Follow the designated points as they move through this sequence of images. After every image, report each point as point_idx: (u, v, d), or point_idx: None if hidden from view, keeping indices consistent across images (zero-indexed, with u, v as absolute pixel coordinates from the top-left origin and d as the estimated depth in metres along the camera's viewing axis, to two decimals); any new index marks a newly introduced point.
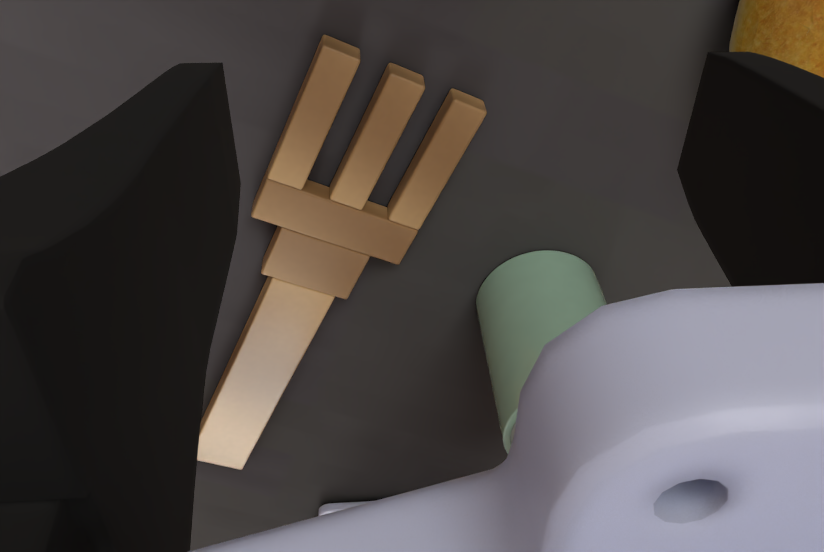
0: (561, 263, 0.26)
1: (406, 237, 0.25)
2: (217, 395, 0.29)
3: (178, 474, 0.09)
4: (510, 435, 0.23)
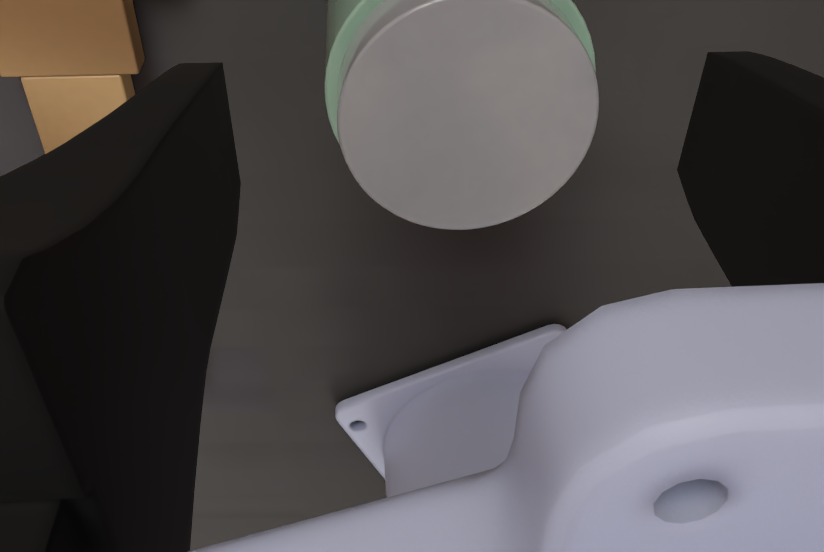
0: None
1: None
2: None
3: (178, 474, 0.09)
4: None
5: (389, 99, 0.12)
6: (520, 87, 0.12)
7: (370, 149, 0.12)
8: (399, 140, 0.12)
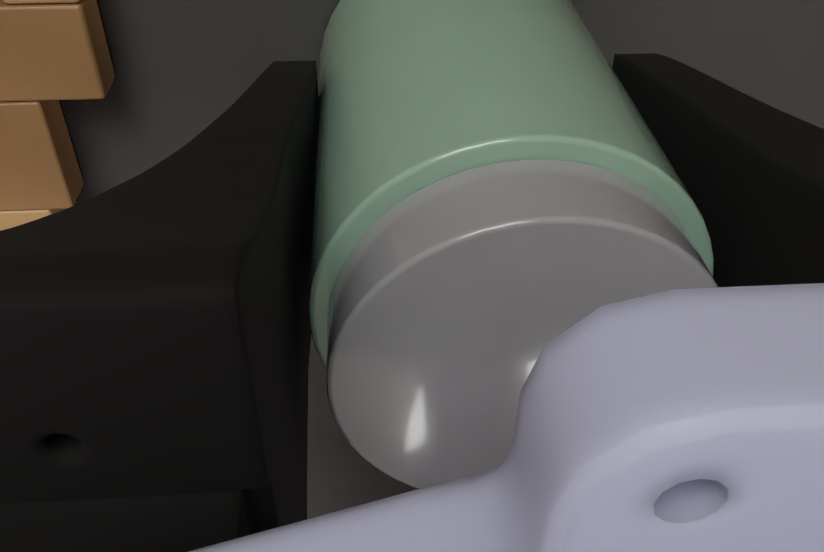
0: None
1: (68, 29, 0.12)
2: None
3: (300, 468, 0.09)
4: None
5: (408, 357, 0.07)
6: None
7: (377, 416, 0.08)
8: (422, 404, 0.08)
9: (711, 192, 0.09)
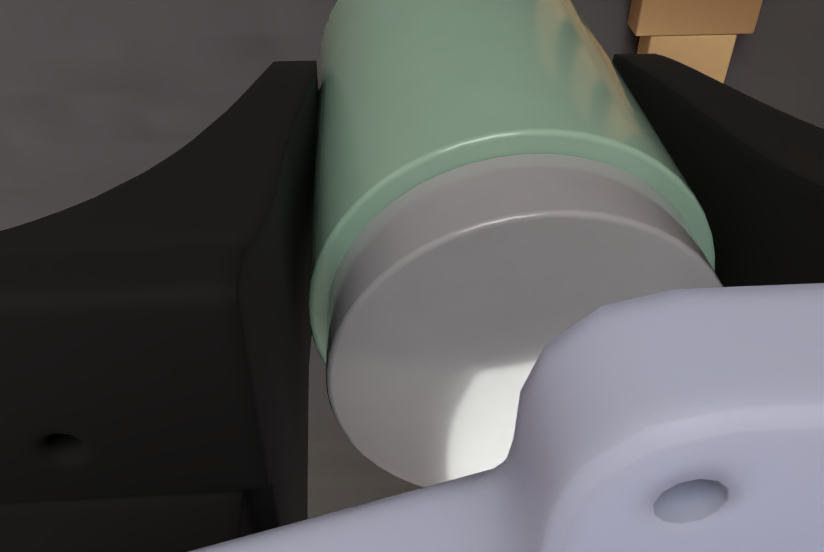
0: None
1: None
2: None
3: (301, 468, 0.09)
4: None
5: (408, 352, 0.07)
6: None
7: (377, 412, 0.08)
8: (422, 400, 0.08)
9: (710, 192, 0.09)
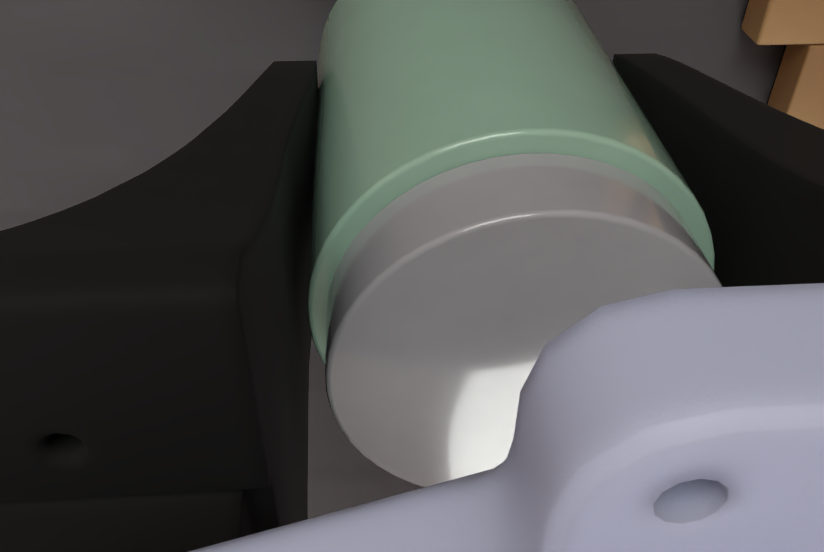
0: None
1: None
2: None
3: (301, 468, 0.09)
4: None
5: (407, 352, 0.07)
6: None
7: (377, 412, 0.08)
8: (421, 400, 0.08)
9: (710, 192, 0.09)
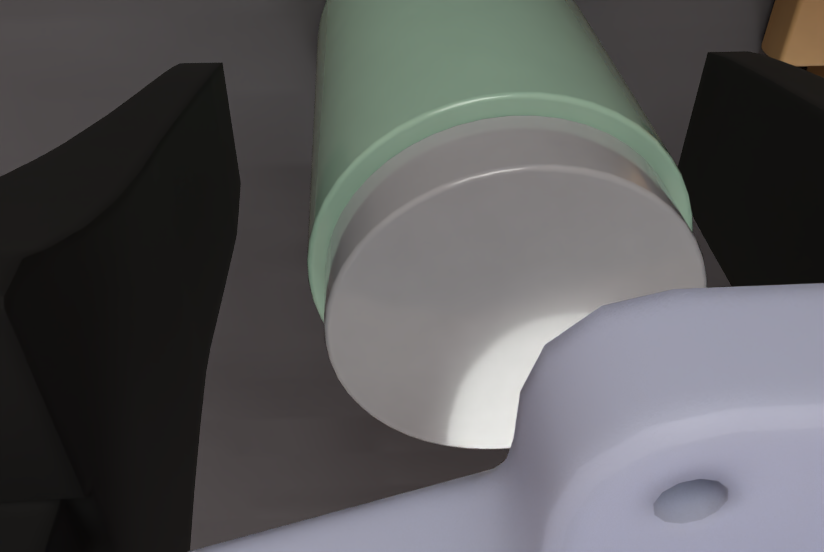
0: None
1: None
2: None
3: (178, 474, 0.09)
4: None
5: (401, 303, 0.08)
6: (594, 284, 0.08)
7: (372, 362, 0.08)
8: (414, 351, 0.08)
9: None
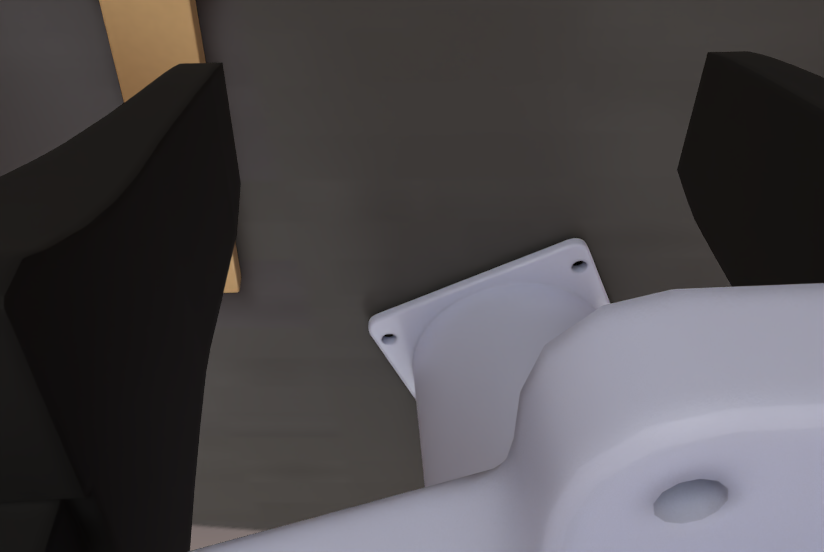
0: None
1: None
2: None
3: (178, 474, 0.09)
4: None
5: None
6: None
7: None
8: None
9: None
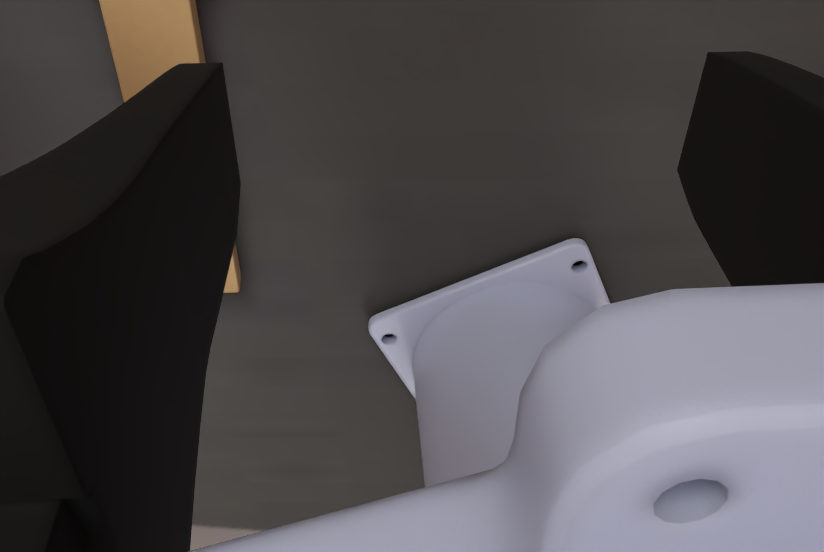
0: None
1: None
2: None
3: (178, 474, 0.08)
4: None
5: None
6: None
7: None
8: None
9: None
